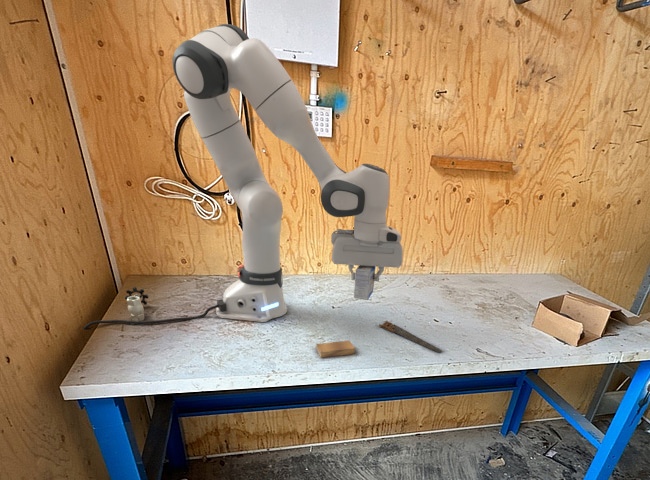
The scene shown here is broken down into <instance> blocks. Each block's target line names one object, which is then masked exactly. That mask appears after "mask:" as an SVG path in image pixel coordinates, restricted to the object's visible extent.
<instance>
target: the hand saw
mask: <svg viewBox="0 0 650 480" xmlns="http://www.w3.org/2000/svg"><path fill="white" fill-rule="evenodd" d="M378 326H379V327H380V328H382V329H385V330H387V331H389V332H391V333H395V334H397V335H400V336H402V337H404V338H406V339H407V340H410V341H413V342H415V343H416V344H419V345H421V346H424V347H426V348H428V349H430V350H432V351H434V352H436V353H440V352H442V351H443V350H442V349H440V348H438V347H436V346H435V345H433V344H432V343H429V342H428V341H426V340H424V339H422V338H421V337H418V336H416V335H414V334H413V333H412V332H409V331H407V330H406V329H404V328H402V327H400V326H398V325H397V324H394V323H392V322H390V321H388V320H385V322H384V323H382V324H380V323H379V324H378Z"/></svg>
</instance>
